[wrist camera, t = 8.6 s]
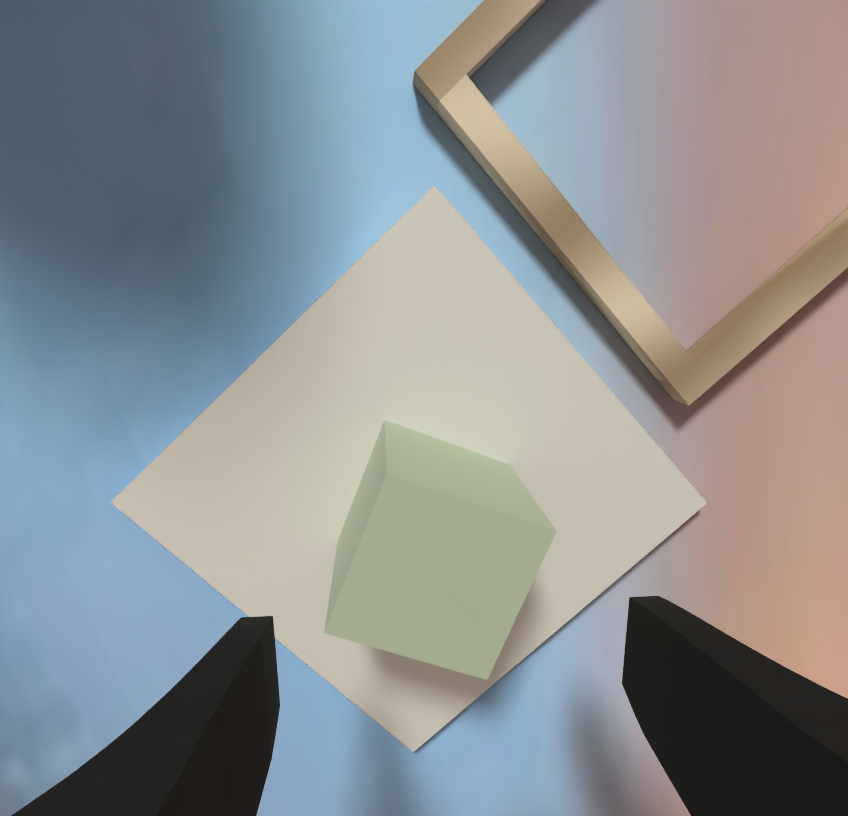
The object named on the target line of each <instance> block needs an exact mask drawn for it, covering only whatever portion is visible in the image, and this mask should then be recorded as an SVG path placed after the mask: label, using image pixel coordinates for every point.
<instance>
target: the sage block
mask: <svg viewBox="0 0 848 816" xmlns="http://www.w3.org/2000/svg"><path fill="white" fill-rule="evenodd" d="M556 532H557V531H556V529H555V528H554V526H553V525H552V524H551V522H550V521H549V519H548V518H547V517H546V515H545V514H544V512H543V511H542V509H541V508H540V507H539V505H538V504H537V502H536V501H535V500H534V498H533V497H532V495H531V494H530V493H529V491H528V490H527V488H526V487H525V485H524V484H523V483H522V481H521V480H520V478H519V477H518V476H517V474H516V473H515V471H514V470H513V469H512V467H511V466H510V464H507V463H505V462H502V461H499V460H496V459H493V458H491V457H488V456H485V455H482V454H479V453H477V452H474V451H471V450H468V449H465V448H463V447H460V446H457V445H454V444H451V443H449V442H446V441H443V440H440V439H437V438H435V437H432V436H429V435H426V434H423V433H421V432H418V431H415V430H412V429H409V428H407V427H404V426H401V425H398V424H395V423H392V422H390V421H387V420H384V422H383V424H382V427H381V430H380V432H379V435H378V437H377V440H376V443H375V445H374V448H373V450H372V453H371V456H370V458H369V461H368V463H367V466H366V468H365V471H364V474H363V476H362V479H361V481H360V484H359V487H358V489H357V492H356V494H355V497H354V500H353V502H352V505H351V507H350V510H349V513H348V515H347V518H346V520H345V523H344V525H343V528H342V531H341V533H340V536H339V538H338V543H337V549H336V556H335V563H334V569H333V576H332V583H331V589H330V596H329V603H328V609H327V616H326V623H325V629H324V633H325V634H329V635H332V636H336V637H339V638H343V639H346V640H350V641H353V642H357V643H360V644H363V645H367V646H370V647H374V648H377V649H381V650H384V651H388V652H391V653H395V654H398V655H402V656H405V657H409V658H412V659H416V660H419V661H423V662H426V663H430V664H433V665H436V666H440V667H443V668H447V669H450V670H454V671H457V672H461V673H464V674H468V675H471V676H475V677H478V678H482V679H485V680H487V679H488V677H489V675H490V673H491V671H492V669H493V667H494V664H495V662H496V660H497V658H498V656H499V654H500V652H501V649H502V647H503V645H504V643H505V641H506V639H507V637H508V634H509V632H510V630H511V628H512V626H513V624H514V622H515V619H516V617H517V615H518V613H519V611H520V609H521V607H522V604H523V602H524V600H525V598H526V596H527V594H528V592H529V589H530V587H531V585H532V583H533V581H534V579H535V577H536V575H537V572H538V570H539V568H540V566H541V564H542V562H543V560H544V557H545V555H546V553H547V551H548V549H549V547H550V545H551V542H552V540H553V538H554V536H555V534H556Z"/></svg>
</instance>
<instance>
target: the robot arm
mask: <svg viewBox="0 0 848 816" xmlns="http://www.w3.org/2000/svg"><path fill="white" fill-rule="evenodd" d="M622 685H623V687H624V689H625V692H626V694H627V697H628V699H629V702H630V704H631V706H632V709H633V711H634V713H635V716H636V718H637V720H638V722H639V725H640V727H641V729H642V731H643V733H644V735H645V737H646V739H647V741H648V742H649V744H650V746H651V748H652V749H653V751H654V753H655V755H656V756H657V758H658V760H659V762H660V763H661V765H662V767H663V768H664V770H665V772H666V774H667V775H668V777H669V779H670V780H671V782H672V784H673V786H674V787H675V789H676V791H677V792H678V794H679V796H680V798H681V799H682V801H683V803H684V804H685V806H686V808H687V809H688V811H689V813H690V815H691V816H848V699H847V698H845V697H843V696H841V695H839V694H837V693H834V692H832V691H830V690H828V689H826V688H824V687H822V686H820V685H818V684H816V683H814V682H812V681H811V680H809V679H807V678H805V677H803V676H801V675H799V674H797V673H795V672H793V671H791V670H789V669H788V668H786V667H784V666H782V665H780V664H778V663H776V662H775V661H773V660H771V659H769V658H767V657H766V656H764V655H762V654H760V653H758V652H757V651H755V650H753V649H751V648H750V647H748V646H746V645H744V644H743V643H741V642H739V641H737V640H736V639H734V638H732V637H731V636H729V635H727V634H725V633H724V632H722V631H720V630H719V629H717V628H715V627H713V626H712V625H710V624H708V623H707V622H705V621H703V620H702V619H700V618H698V617H696V616H695V615H693V614H691V613H690V612H688V611H686V610H684V609H683V608H681V607H679V606H677V605H675V604H674V603H672V602H670V601H668V600H666V599H664V598H662V597H660V596H647V597H630V598H629V610H628V621H627V633H626V644H625V655H624V667H623V678H622ZM279 708H280V700H279V687H278V674H277V661H276V648H275V636H274V623H273V616H260V617H241V618H240V619H239V620H238V621H237V622H236V623H235V624H234V625H233V626H232V627H231V628H230V629H229V630H228V631H227V633H226V634H225V635H224V636H223V637H222V638H221V639H220V640H219V641H218V642H217V643H216V644H215V645H214V646H213V647H212V648H211V649H210V650H209V652H208V653H207V654H206V655H205V656H204V657H203V658H202V659H201V660H200V661H199V662H198V663H197V664H196V665H195V666H194V667H193V668H192V669H191V670H190V671H189V672H188V673H187V674H186V675H185V676H184V677H183V678H182V679H181V680H180V681H179V682H178V683H177V684H176V685H175V686H174V687H173V688H172V689H171V690H170V691H169V692H168V693H167V694H166V695H165V696H164V697H163V698H161V699H160V700H159V701H158V702H157V703H156V704H155V705H154V706H153V707H152V708H151V709H150V710H148V711H147V712H146V713H145V714H144V715H143V716H142V717H141V718H140V719H139V720H138V721H136V722H135V723H134V724H133V725H132V726H131V727H130V728H128V729H127V730H126V731H125V732H124V733H123V734H121V735H120V736H119V737H118V738H117V739H115V740H114V741H113V742H112V743H111V744H109V745H108V746H107V747H106V748H104V749H103V750H102V751H100V752H99V753H98V754H97V755H95V756H94V757H93V758H92V759H90V760H89V761H88V762H86V763H85V764H84V765H83V766H81V767H80V768H79V769H77V770H76V771H75V772H73V773H72V774H71V775H69V776H68V777H67V778H65V779H64V780H62V781H61V782H60V783H58V784H57V785H55V786H54V787H52V788H51V789H49V790H48V791H46V792H45V793H44V794H42V795H41V796H39V797H38V798H36V799H35V800H33V801H32V802H31V803H29V804H28V805H26V806H25V807H23V808H22V809H20V810H19V811H18V812H16V813H15V814H13V815H12V816H256V814H257V811H258V807H259V803H260V800H261V796H262V792H263V789H264V785H265V781H266V778H267V774H268V770H269V766H270V762H271V759H272V753H273V747H274V741H275V735H276V728H277V721H278V715H279Z"/></svg>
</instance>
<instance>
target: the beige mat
mask: <svg viewBox="0 0 848 816" xmlns="http://www.w3.org/2000/svg"><path fill="white" fill-rule="evenodd" d="M384 420H387V421H390V422H392V423H395V424H398V425H401V426H404V427H407V428H409V429H412V430H415V431H418V432H421V433H423V434H426V435H429V436H432V437H435V438H437V439H440V440H443V441H446V442H449V443H451V444H454V445H457V446H460V447H463V448H465V449H468V450H471V451H474V452H477V453H479V454H482V455H485V456H488V457H491V458H493V459H496V460H499V461H502V462H505V463H507V464H510V466H511V467H512V469H513V470H514V471H515V473H516V474H517V476H518V477H519V478H520V480H521V481H522V483H523V484H524V485H525V487H526V488H527V490H528V491H529V493H530V494H531V495H532V497H533V498H534V500H535V501H536V502H537V504H538V505H539V507H540V508H541V509H542V511H543V512H544V514H545V515H546V517H547V518H548V519H549V521H550V522H551V524H552V525H553V526H554V528H555V529H556V531H557V532H556V534H555V536H554V538H553V540H552V542H551V545H550V547H549V549H548V551H547V553H546V555H545V557H544V560H543V562H542V564H541V566H540V568H539V570H538V572H537V575H536V577H535V579H534V581H533V583H532V585H531V587H530V589H529V592H528V594H527V596H526V598H525V600H524V602H523V604H522V607H521V609H520V611H519V613H518V615H517V617H516V619H515V622H514V624H513V626H512V628H511V630H510V632H509V634H508V637H507V639H506V641H505V643H504V645H503V647H502V649H501V652H500V654H499V656H498V658H497V660H496V662H495V664H494V667H493V669H492V671H491V673H490V675H489V677H488V679H487V680H485V679H482V678H478V677H475V676H471V675H468V674H464V673H461V672H457V671H454V670H450V669H447V668H443V667H440V666H436V665H433V664H430V663H426V662H423V661H419V660H416V659H412V658H409V657H405V656H402V655H398V654H395V653H391V652H388V651H384V650H381V649H377V648H374V647H370V646H367V645H363V644H360V643H357V642H353V641H350V640H346V639H343V638H339V637H336V636H332V635H329V634H325V633H324V629H325V623H326V616H327V609H328V603H329V596H330V589H331V583H332V576H333V569H334V563H335V556H336V549H337V543H338V538H339V536H340V533H341V531H342V528H343V525H344V523H345V520H346V518H347V515H348V513H349V510H350V507H351V505H352V502H353V500H354V497H355V494H356V492H357V489H358V487H359V484H360V481H361V479H362V476H363V474H364V471H365V468H366V466H367V463H368V461H369V458H370V456H371V453H372V450H373V448H374V445H375V443H376V440H377V437H378V435H379V432H380V430H381V427H382V424H383V422H384ZM111 503H112V504H113V505H115V506H116V507H117V508H118V509H119V510H121V511H122V512H123V513H124V514H125V515H127V516H128V517H129V518H130V519H131V520H133V521H134V522H135V523H136V524H138V525H139V526H140V527H141V528H142V529H144V530H145V531H146V532H147V533H148V534H150V535H151V536H152V537H153V538H154V539H156V540H157V541H158V542H159V543H161V544H162V545H163V546H164V547H165V548H167V549H168V550H169V551H170V552H171V553H173V554H174V555H175V556H176V557H178V558H179V559H180V560H181V561H182V562H184V563H185V564H186V565H187V566H188V567H190V568H191V569H192V570H193V571H194V572H196V573H197V574H198V575H199V576H201V577H202V578H203V579H204V580H205V581H207V582H208V583H209V584H210V585H211V586H213V587H214V588H215V589H216V590H217V591H219V592H220V593H221V594H222V595H224V596H225V597H226V598H227V599H228V600H230V601H231V602H232V603H233V604H234V605H236V606H237V607H238V608H239V609H241V610H242V611H243V612H244V613H245V614H247V615H248V616H249V617H260V616H273V623H274V636H275V638H276V639H277V640H278V641H279V642H280V643H282V644H283V645H284V646H285V647H287V648H288V649H289V650H290V651H291V652H293V653H294V654H295V655H296V656H297V657H299V658H300V659H301V660H302V661H303V662H305V663H306V664H307V665H308V666H310V667H311V668H312V669H313V670H314V671H316V672H317V673H318V674H319V675H320V676H322V677H323V678H324V679H325V680H327V681H328V682H329V683H330V684H331V685H333V686H334V687H335V688H336V689H337V690H339V691H340V692H341V693H342V694H343V695H345V696H346V697H347V698H348V699H350V700H351V701H352V702H353V703H354V704H356V705H357V706H358V707H359V708H360V709H362V710H363V711H364V712H365V713H366V714H368V715H369V716H370V717H371V718H373V719H374V720H375V721H376V722H377V723H379V724H380V725H381V726H382V727H383V728H385V729H386V730H387V731H388V732H389V733H391V734H392V735H393V736H394V737H396V738H397V739H398V740H399V741H400V742H402V743H403V744H404V745H405V746H406V747H408V748H409V749H410V750H411V751H413V752H414V751H415V750H417V749H418V748H419V747H420V746H421V745H422V744H424V743H425V742H426V741H427V740H428V739H429V738H431V737H432V736H433V735H434V734H435V733H437V732H438V731H439V730H440V729H441V728H442V727H444V726H445V725H446V724H447V723H448V722H450V721H451V720H452V719H453V718H454V717H455V716H457V715H458V714H459V713H460V712H461V711H463V710H464V709H465V708H466V707H467V706H468V705H470V704H471V703H472V702H473V701H474V700H476V699H477V698H478V697H479V696H480V695H481V694H483V693H484V692H485V691H486V690H487V689H489V688H490V687H491V686H492V685H493V684H494V683H496V682H497V681H498V680H499V679H500V678H501V677H503V676H504V675H505V674H506V673H507V672H509V671H510V670H511V669H512V668H513V667H514V666H516V665H517V664H518V663H519V662H520V661H522V660H523V659H524V658H525V657H526V656H527V655H529V654H530V653H531V652H532V651H533V650H535V649H536V648H537V647H538V646H539V645H540V644H542V643H543V642H544V641H545V640H546V639H548V638H549V637H550V636H551V635H552V634H553V633H555V632H556V631H557V630H558V629H559V628H560V627H562V626H563V625H564V624H565V623H566V622H568V621H569V620H570V619H571V618H572V617H573V616H575V615H576V614H577V613H578V612H579V611H581V610H582V609H583V608H584V607H585V606H586V605H588V604H589V603H590V602H591V601H592V600H594V599H595V598H596V597H597V596H598V595H599V594H601V593H602V592H603V591H604V590H605V589H607V588H608V587H609V586H610V585H611V584H612V583H614V582H615V581H616V580H617V579H618V578H620V577H621V576H622V575H623V574H624V573H625V572H627V571H628V570H629V569H630V568H631V567H632V566H634V565H635V564H636V563H637V562H638V561H640V560H641V559H642V558H643V557H644V556H645V555H647V554H648V553H649V552H650V551H651V550H653V549H654V548H655V547H656V546H657V545H658V544H660V543H661V542H662V541H663V540H664V539H666V538H667V537H668V536H669V535H670V534H671V533H673V532H674V531H675V530H676V529H677V528H679V527H680V526H681V525H682V524H683V523H684V522H686V521H687V520H688V519H689V518H690V517H691V516H693V515H694V514H695V513H696V512H697V511H699V510H700V509H701V508H702V507H703V506H704V505H706V504H707V503H706V501H705V500H704V499H703V498H702V497H701V496H700V494H699V493H698V492H697V491H696V490H695V489H694V487H693V486H692V485H691V484H690V483H689V482H688V480H687V479H686V478H685V477H684V476H683V475H682V473H681V472H680V471H679V470H678V469H677V467H676V466H675V465H674V464H673V463H672V462H671V460H670V459H669V458H668V457H667V456H666V455H665V453H664V452H663V451H662V450H661V449H660V448H659V446H658V445H657V444H656V443H655V442H654V441H653V439H652V438H651V437H650V436H649V435H648V434H647V432H646V431H645V430H644V429H643V428H642V427H641V425H640V424H639V423H638V422H637V421H636V420H635V418H634V417H633V416H632V415H631V414H630V413H629V411H628V410H627V409H626V408H625V407H624V406H623V404H622V403H621V402H620V401H619V400H618V399H617V397H616V396H615V395H614V394H613V393H612V391H611V390H610V389H609V388H608V387H607V386H606V384H605V383H604V382H603V381H602V380H601V379H600V377H599V376H598V375H597V374H596V373H595V372H594V370H593V369H592V368H591V367H590V366H589V365H588V363H587V362H586V361H585V360H584V359H583V358H582V356H581V355H580V354H579V353H578V352H577V351H576V349H575V348H574V347H573V346H572V345H571V344H570V342H569V341H568V340H567V339H566V338H565V337H564V335H563V334H562V333H561V332H560V331H559V330H558V328H557V327H556V326H555V325H554V324H553V323H552V321H551V320H550V319H549V318H548V317H547V315H546V314H545V313H544V312H543V311H542V310H541V308H540V307H539V306H538V305H537V304H536V303H535V301H534V300H533V299H532V298H531V297H530V296H529V294H528V293H527V292H526V291H525V290H524V289H523V287H522V286H521V285H520V284H519V283H518V282H517V280H516V279H515V278H514V277H513V276H512V275H511V273H510V272H509V271H508V270H507V269H506V268H505V266H504V265H503V264H502V263H501V262H500V261H499V259H498V258H497V257H496V256H495V255H494V254H493V252H492V251H491V250H490V249H489V248H488V247H487V245H486V244H485V243H484V242H483V241H482V239H481V238H480V237H479V236H478V235H477V234H476V232H475V231H474V230H473V229H472V228H471V227H470V225H469V224H468V223H467V222H466V221H465V220H464V218H463V217H462V216H461V215H460V214H459V213H458V211H457V210H456V209H455V208H454V207H453V206H452V204H451V203H450V202H449V201H448V200H447V199H446V197H445V196H444V195H443V194H442V193H441V192H440V190H439V189H438V188H437V187H436V186H435V185H434V186H433V187H432V188H431V189H430V190H429V191H428V192H427V193H426V194H425V195H424V196H423V197H422V198H421V199H420V200H419V201H418V202H417V203H416V204H415V205H414V206H413V207H412V208H411V209H410V210H409V211H408V212H407V213H406V214H405V215H404V216H403V217H402V218H401V219H400V220H399V221H398V222H397V223H396V224H395V225H393V226H392V227H391V228H390V229H389V230H388V231H387V232H386V233H385V234H384V235H383V236H382V237H381V238H380V239H379V240H378V241H377V242H376V243H375V244H374V245H373V246H372V247H371V248H370V249H369V250H368V251H367V252H366V253H365V254H364V255H363V256H362V257H361V258H360V259H359V260H358V261H357V262H356V263H355V264H354V265H353V266H352V267H351V268H350V269H349V270H347V271H346V272H345V273H344V274H343V275H342V276H341V277H340V278H339V279H338V280H337V281H336V282H335V283H334V284H333V285H332V286H331V287H330V288H329V289H328V290H327V291H326V292H325V293H324V294H323V295H322V296H321V297H320V298H319V299H318V300H317V301H316V302H315V303H314V304H313V305H312V306H311V307H310V308H309V309H308V310H307V311H306V312H305V313H304V314H303V315H301V316H300V317H299V318H298V319H297V320H296V321H295V322H294V323H293V324H292V325H291V326H290V327H289V328H288V329H287V330H286V331H285V332H284V333H283V334H282V335H281V336H280V337H279V338H278V339H277V340H276V341H275V342H274V343H273V344H272V345H271V346H270V347H269V348H268V349H267V350H266V351H265V352H264V353H263V354H262V355H261V356H260V357H259V358H258V359H256V360H255V361H254V362H253V363H252V364H251V365H250V366H249V367H248V368H247V369H246V370H245V371H244V372H243V373H242V374H241V375H240V376H239V377H238V378H237V379H236V380H235V381H234V382H233V383H232V384H231V385H230V386H229V387H228V388H227V389H226V390H225V391H224V392H223V393H222V394H221V395H220V396H219V397H218V398H217V399H216V400H215V401H214V402H213V403H212V404H210V405H209V406H208V407H207V408H206V409H205V410H204V411H203V412H202V413H201V414H200V415H199V416H198V417H197V418H196V419H195V420H194V421H193V422H192V423H191V424H190V425H189V426H188V427H187V428H186V429H185V430H184V431H183V432H182V433H181V434H180V435H179V436H178V437H177V438H176V439H175V440H174V441H173V442H172V443H171V444H170V445H169V446H168V447H167V448H165V449H164V450H163V451H162V452H161V453H160V454H159V455H158V456H157V457H156V458H155V459H154V460H153V461H152V462H151V463H150V464H149V465H148V466H147V467H146V468H145V469H144V470H143V471H142V472H141V473H140V474H139V475H138V476H137V477H136V478H135V479H134V480H133V481H132V482H131V483H130V484H129V485H128V486H127V487H126V488H125V489H124V490H123V491H122V492H121V493H119V494H118V495H117V496H116V497H115V498H114V499H113V500H112V501H111Z"/></svg>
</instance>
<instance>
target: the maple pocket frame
mask: <svg viewBox="0 0 848 816" xmlns="http://www.w3.org/2000/svg"><path fill="white" fill-rule="evenodd" d="M546 1H547V0H484V1H483V2H482V3H481V4H480V5H479V6H478V7H477V8H476V9H475V10H474V11H473V12H472V13H471V14H470V15H469V16H468V17H467V18H466V19H465V20H464V21H463V22H462V23H461V24H460V25H459V26H458V27H457V28H456V29H455V30H454V31H453V33H452V34H451V35H450V36H449V37H448V38H447V39H446V40H445V41H444V42H443V43H442V44H441V45H440V46H439V47H438V48H437V49H436V50H435V51H434V52H433V53H432V54H431V55H430V56H429V57H428V58H427V59H426V60H425V61H424V62H423V63H422V64H421V65H420V66H419V67H418V68H417V69H416V70H415V72H414V77H413V84H414V86H415V87H416V88H417V89H418V90H419V92H420V93H421V94H422V95H423V96H424V98H425V99H426V100H427V101H428V103H429V104H430V105H431V106H432V107H433V109H434V110H435V111H436V112H437V113H438V115H439V116H440V117H441V118H442V120H443V121H444V122H445V123H446V124H447V126H448V127H449V128H450V129H451V130H452V132H453V133H454V134H455V135H456V137H457V138H458V139H459V140H460V141H461V143H462V144H463V145H464V146H465V147H466V149H467V150H468V151H469V152H470V153H471V155H472V156H473V157H474V158H475V160H476V161H477V162H478V163H479V164H480V166H481V167H482V168H483V169H484V170H485V172H486V173H487V174H488V175H489V177H490V178H491V179H492V180H493V181H494V183H495V184H496V185H497V186H498V187H499V189H500V190H501V191H502V192H503V194H504V195H505V196H506V197H507V198H508V200H509V201H510V202H511V203H512V204H513V206H514V207H515V208H516V209H517V211H518V212H519V213H520V214H521V215H522V217H523V218H524V219H525V220H526V221H527V223H528V224H529V225H530V226H531V228H532V229H533V230H534V231H535V232H536V234H537V235H538V236H539V237H540V238H541V240H542V241H543V242H544V243H545V244H546V246H547V247H548V248H549V249H550V251H551V252H552V253H553V254H554V255H555V257H556V258H557V259H558V260H559V261H560V263H561V264H562V265H563V266H564V268H565V269H566V270H567V271H568V272H569V274H570V275H571V276H572V277H573V278H574V280H575V281H576V282H577V283H578V285H579V286H580V287H581V288H582V289H583V291H584V292H585V293H586V294H587V295H588V297H589V298H590V299H591V300H592V302H593V303H594V304H595V305H596V306H597V308H598V309H599V310H600V311H601V312H602V314H603V315H604V316H605V317H606V318H607V320H608V321H609V322H610V323H611V325H612V326H613V327H614V328H615V329H616V331H617V332H618V333H619V334H620V335H621V337H622V338H623V339H624V340H625V342H626V343H627V344H628V345H629V346H630V348H631V349H632V350H633V351H634V352H635V354H636V355H637V356H638V357H639V359H640V360H641V361H642V362H643V363H644V365H645V366H646V367H647V368H648V369H649V371H650V372H651V373H652V374H653V376H654V377H655V378H656V379H657V380H658V382H659V383H660V384H661V385H662V386H663V388H664V389H665V390H666V391H667V392H668V394H669V395H670V396H671V397H672V399H674V400H676V401H678V402H681V403H683V404H686V405H688V406H689V405H691V404H692V403H693V402H694V401H695V400H696V399H697V398H699V397H700V396H701V395H702V394H703V393H704V392H705V391H707V390H708V389H709V388H710V387H711V386H712V385H713V384H715V383H716V382H717V381H718V380H719V379H720V378H722V377H723V376H724V375H725V374H726V373H727V372H728V371H730V370H731V369H732V368H733V367H734V366H735V365H736V364H738V363H739V362H740V361H741V360H742V359H743V358H744V357H746V356H747V355H748V354H749V353H750V352H751V351H752V350H754V349H755V348H756V347H757V346H758V345H759V344H760V343H762V342H763V341H764V340H765V339H766V338H767V337H768V336H770V335H771V334H772V333H773V332H774V331H775V330H777V329H778V328H779V327H780V326H781V325H782V324H783V323H785V322H786V321H787V320H788V319H789V318H790V317H791V316H793V315H794V314H795V313H796V312H797V311H798V310H799V309H801V308H802V307H803V306H804V305H805V304H806V303H807V302H809V301H810V300H811V299H812V298H813V297H814V296H815V295H817V294H818V293H819V292H820V291H821V290H822V289H823V288H825V287H826V286H827V285H828V284H829V283H830V282H832V281H833V280H834V279H835V278H836V277H837V276H838V275H840V274H841V273H842V272H843V271H844V270H845V269H846V268H848V209H847V210H846V211H844V212H843V213H842V214H841V215H840V216H839V217H838V218H836V219H835V220H834V221H833V222H832V223H831V224H830V225H829V226H827V227H826V228H825V229H824V230H823V231H822V232H821V233H820V234H818V235H817V236H816V237H815V238H814V239H813V240H812V241H810V242H809V243H808V244H807V245H806V246H805V247H804V248H803V249H801V250H800V251H799V252H798V253H797V254H796V255H795V256H794V257H792V258H791V259H790V260H789V261H788V262H787V263H786V264H785V265H783V266H782V267H781V268H780V269H779V270H778V271H777V272H775V273H774V274H773V275H772V276H771V277H770V278H769V279H768V280H766V281H765V282H764V283H763V284H762V285H761V286H760V287H759V288H757V289H756V290H755V291H754V292H753V293H752V294H751V295H750V296H748V297H747V298H746V299H745V300H744V301H743V302H742V303H740V304H739V305H738V306H737V307H736V308H735V309H734V310H733V311H731V312H730V313H729V314H728V315H727V316H726V317H725V318H724V319H722V320H721V321H720V322H719V323H718V324H717V325H716V326H714V327H713V328H712V329H711V330H710V331H709V332H708V333H707V334H705V335H704V336H703V337H702V338H701V339H700V340H699V341H698V342H696V343H695V344H694V345H693V346H692V347H691V348H690V349H689V350H687V351H686V350H685V349H684V348H683V346H682V345H681V344H680V342H679V341H678V340H677V339H676V337H675V336H674V335H673V334H672V332H671V331H670V330H669V329H668V327H667V326H666V325H665V324H664V322H663V321H662V320H661V319H660V317H659V316H658V315H657V314H656V312H655V311H654V310H653V309H652V307H651V306H650V305H649V304H648V302H647V301H646V300H645V298H644V297H643V296H642V295H641V293H640V292H639V291H638V290H637V288H636V287H635V286H634V285H633V283H632V282H631V281H630V280H629V278H628V277H627V276H626V275H625V273H624V272H623V271H622V270H621V268H620V267H619V266H618V265H617V263H616V262H615V261H614V259H613V258H612V257H611V256H610V254H609V253H608V252H607V251H606V249H605V248H604V247H603V246H602V244H601V243H600V242H599V241H598V239H597V238H596V237H595V236H594V234H593V233H592V232H591V231H590V229H589V228H588V227H587V226H586V224H585V223H584V222H583V221H582V219H581V218H580V217H579V215H578V214H577V213H576V212H575V210H574V209H573V208H572V207H571V205H570V204H569V203H568V202H567V200H566V199H565V198H564V197H563V195H562V194H561V193H560V192H559V190H558V189H557V188H556V187H555V185H554V184H553V183H552V182H551V180H550V179H549V178H548V176H547V175H546V174H545V173H544V171H543V170H542V169H541V168H540V166H539V165H538V164H537V163H536V161H535V160H534V159H533V158H532V156H531V155H530V154H529V153H528V151H527V150H526V149H525V148H524V146H523V145H522V144H521V143H520V141H519V140H518V139H517V138H516V136H515V135H514V134H513V132H512V131H511V130H510V129H509V127H508V126H507V125H506V124H505V122H504V121H503V120H502V119H501V117H500V116H499V115H498V114H497V112H496V111H495V110H494V109H493V107H492V106H491V105H490V104H489V102H488V101H487V100H486V99H485V97H484V96H483V95H482V94H481V92H480V91H479V90H478V88H477V87H476V86H475V85H474V83H473V82H472V81H471V80H470V77H471V76H472V75H473V74H474V73H475V72H476V71H477V70H478V69H479V68H480V67H481V66H482V65H483V64H484V63H485V62H486V61H487V60H488V59H489V58H490V57H491V56H492V55H493V54H494V53H495V52H496V51H497V50H498V49H499V48H500V47H501V46H502V45H503V44H504V43H505V42H506V41H507V40H508V39H509V38H510V37H511V36H512V35H513V34H514V33H515V32H516V31H517V30H518V29H519V28H520V27H521V26H522V25H523V24H524V23H525V22H526V21H527V20H528V19H529V18H530V17H531V16H532V15H533V14H534V13H535V12H536V11H537V10H538V9H539V8H540V7H541V6H542V5H543V4H544V3H545V2H546Z"/></svg>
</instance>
